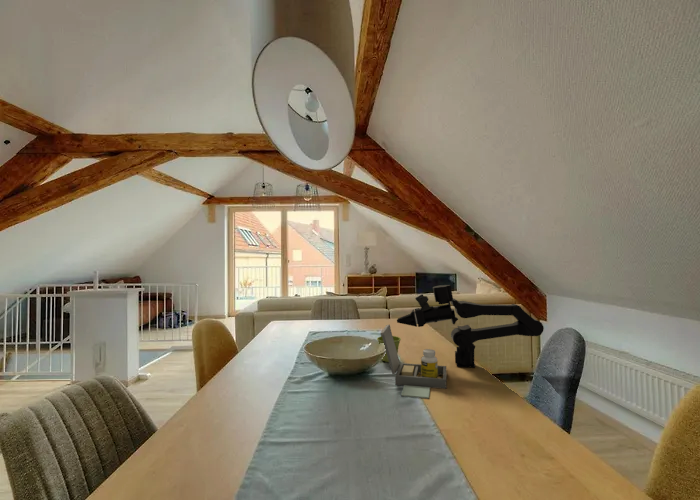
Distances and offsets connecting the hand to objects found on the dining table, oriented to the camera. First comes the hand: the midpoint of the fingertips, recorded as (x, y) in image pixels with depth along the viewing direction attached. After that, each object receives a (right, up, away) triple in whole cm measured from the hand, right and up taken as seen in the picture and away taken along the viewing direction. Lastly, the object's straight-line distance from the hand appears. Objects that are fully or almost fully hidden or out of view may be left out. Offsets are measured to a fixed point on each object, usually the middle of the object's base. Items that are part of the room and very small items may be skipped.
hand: (397, 320), depth 141 cm
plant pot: (-3, -17, +4) cm, 17 cm away
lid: (-4, -6, -16) cm, 17 cm away
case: (+6, -16, -18) cm, 25 cm away
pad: (+2, -16, -30) cm, 34 cm away
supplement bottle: (+8, -17, -19) cm, 26 cm away
